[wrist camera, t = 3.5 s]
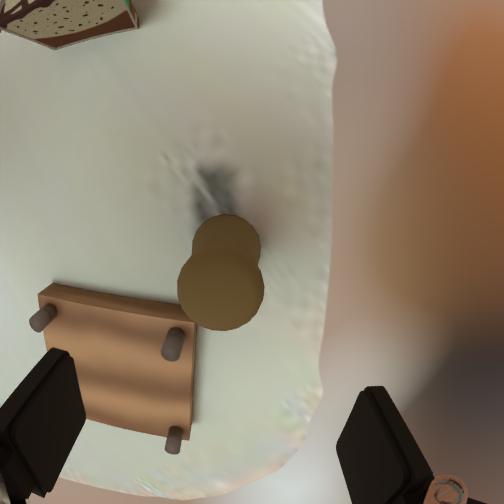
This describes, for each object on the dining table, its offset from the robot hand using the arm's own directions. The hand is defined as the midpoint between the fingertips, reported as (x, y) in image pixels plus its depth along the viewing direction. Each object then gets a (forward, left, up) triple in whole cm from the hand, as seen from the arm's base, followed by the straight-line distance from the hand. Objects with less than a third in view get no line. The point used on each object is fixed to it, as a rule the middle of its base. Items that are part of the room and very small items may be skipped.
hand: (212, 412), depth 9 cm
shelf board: (+14, -10, -20) cm, 26 cm away
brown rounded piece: (0, 0, -20) cm, 20 cm away
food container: (-22, -16, -20) cm, 34 cm away
